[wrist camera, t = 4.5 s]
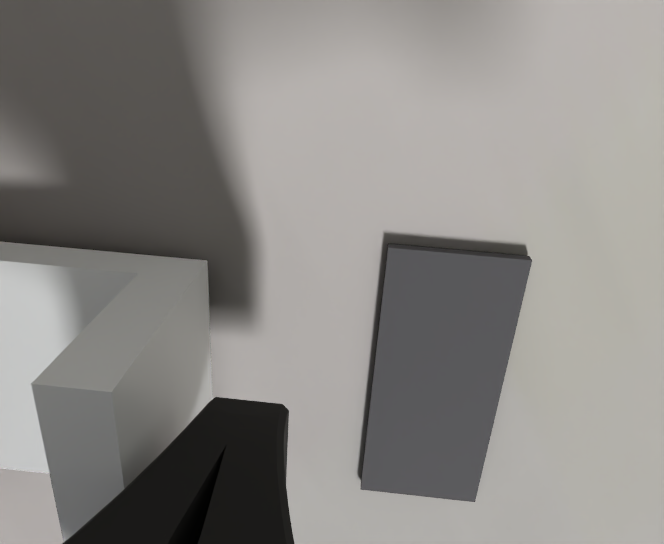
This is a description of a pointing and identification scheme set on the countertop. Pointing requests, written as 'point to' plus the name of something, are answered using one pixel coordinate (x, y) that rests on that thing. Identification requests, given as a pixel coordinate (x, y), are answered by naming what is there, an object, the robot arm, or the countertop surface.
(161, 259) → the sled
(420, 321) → the pad
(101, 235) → the countertop surface
